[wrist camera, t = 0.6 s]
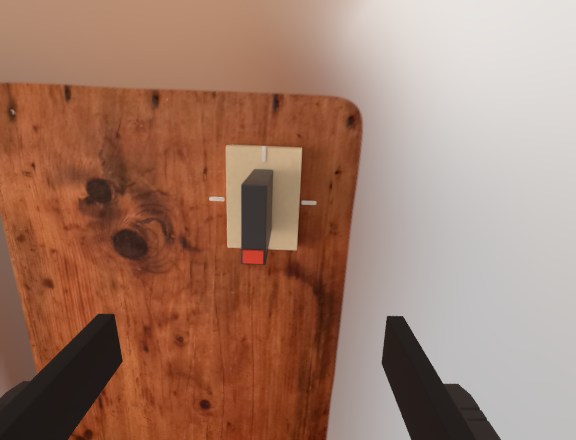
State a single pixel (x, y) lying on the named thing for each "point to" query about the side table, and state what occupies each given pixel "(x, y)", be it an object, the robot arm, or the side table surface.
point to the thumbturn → (256, 216)
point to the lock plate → (283, 197)
